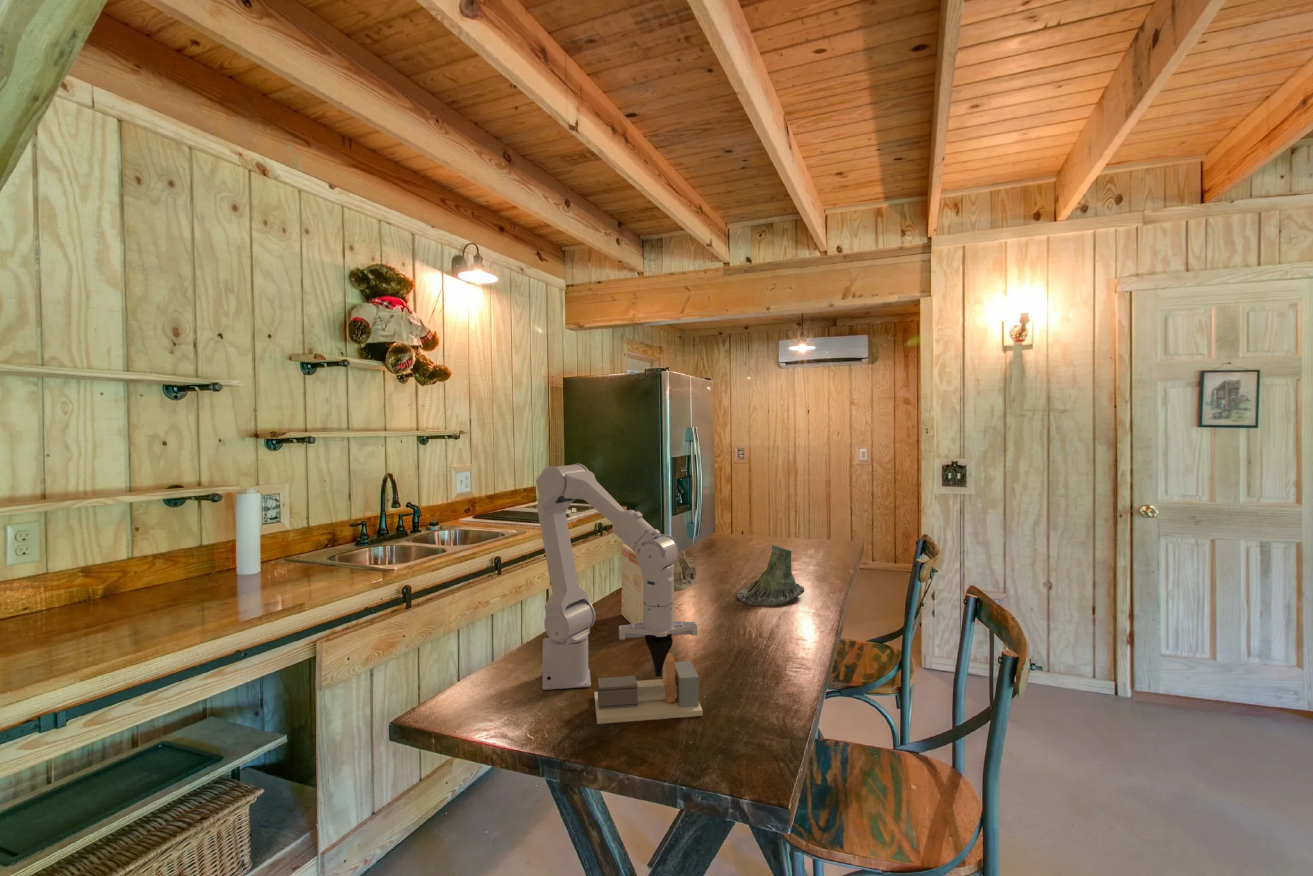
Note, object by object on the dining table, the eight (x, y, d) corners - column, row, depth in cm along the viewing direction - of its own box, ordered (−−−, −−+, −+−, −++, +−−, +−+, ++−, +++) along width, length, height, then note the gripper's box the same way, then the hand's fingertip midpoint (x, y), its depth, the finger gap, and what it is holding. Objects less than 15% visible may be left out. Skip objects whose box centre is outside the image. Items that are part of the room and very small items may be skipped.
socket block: (679, 707, 106) (680, 678, 106) (672, 690, 113) (673, 662, 113) (698, 706, 107) (698, 676, 106) (690, 688, 114) (690, 661, 113)
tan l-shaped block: (629, 705, 106) (629, 664, 106) (627, 694, 110) (627, 655, 110) (691, 700, 108) (691, 660, 108) (687, 690, 112) (687, 651, 112)
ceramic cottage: (653, 591, 180) (656, 543, 181) (648, 579, 197) (651, 534, 197) (703, 593, 182) (706, 545, 182) (694, 581, 198) (697, 537, 198)
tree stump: (725, 592, 182) (737, 535, 183) (781, 603, 187) (793, 547, 188) (750, 608, 164) (763, 545, 166) (811, 619, 169) (824, 558, 171)
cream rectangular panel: (597, 723, 102) (597, 695, 102) (594, 697, 112) (594, 671, 112) (702, 715, 105) (702, 688, 105) (691, 690, 115) (691, 665, 115)
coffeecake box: (665, 629, 148) (665, 553, 148) (639, 633, 146) (639, 555, 145) (644, 611, 162) (645, 541, 162) (620, 614, 160) (620, 543, 159)
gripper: (621, 610, 103) (621, 686, 104) (701, 607, 106) (700, 681, 106) (617, 598, 110) (617, 669, 111) (692, 595, 113) (692, 664, 113)
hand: (657, 674), depth 109 cm, fingers closed
